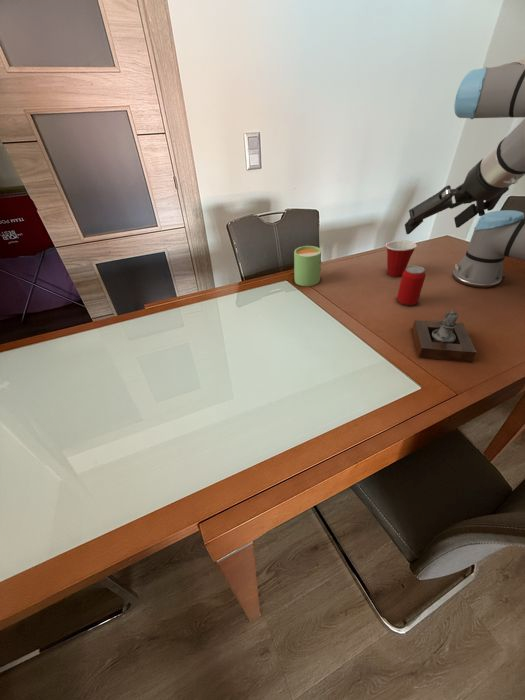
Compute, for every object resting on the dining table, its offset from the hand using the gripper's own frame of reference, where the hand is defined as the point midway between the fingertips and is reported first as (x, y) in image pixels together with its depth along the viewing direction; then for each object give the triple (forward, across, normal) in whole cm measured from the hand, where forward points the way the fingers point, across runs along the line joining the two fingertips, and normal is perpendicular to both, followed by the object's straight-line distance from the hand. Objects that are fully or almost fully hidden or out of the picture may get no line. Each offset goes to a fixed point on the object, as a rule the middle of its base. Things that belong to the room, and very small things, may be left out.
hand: (431, 226), depth 79 cm
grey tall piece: (+9, +2, -31) cm, 33 cm away
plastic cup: (+40, +10, 0) cm, 42 cm away
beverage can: (+26, +4, -15) cm, 30 cm away
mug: (+44, -25, +4) cm, 51 cm away
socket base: (+9, +2, -31) cm, 32 cm away
